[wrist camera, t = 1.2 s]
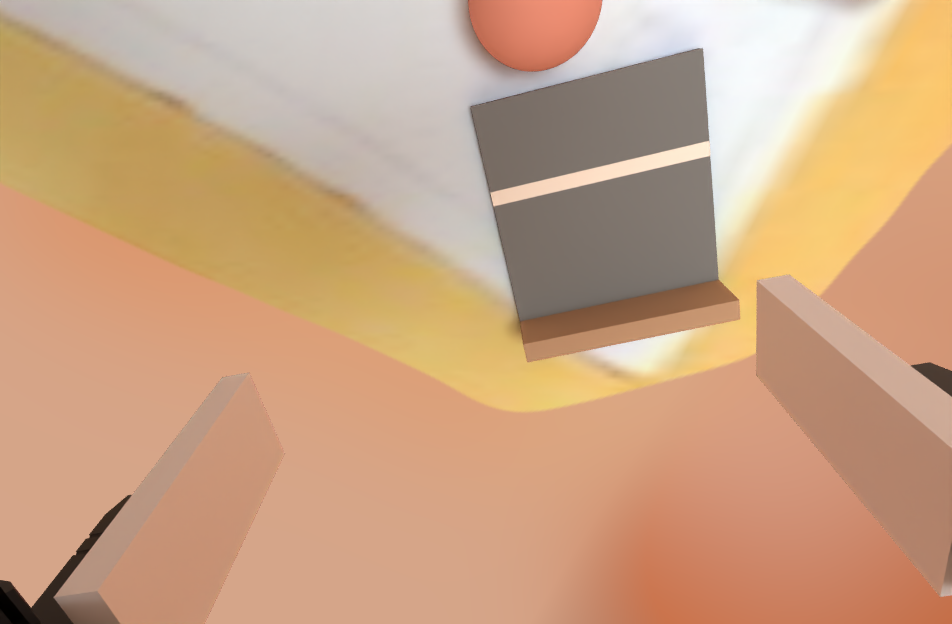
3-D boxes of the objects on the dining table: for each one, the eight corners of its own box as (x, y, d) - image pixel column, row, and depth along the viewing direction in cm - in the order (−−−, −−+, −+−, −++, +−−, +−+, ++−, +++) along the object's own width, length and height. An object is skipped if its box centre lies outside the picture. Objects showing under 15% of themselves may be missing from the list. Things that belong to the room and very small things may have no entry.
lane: (470, 106, 30) (469, 113, 27) (698, 48, 29) (726, 48, 26) (523, 333, 36) (527, 362, 33) (715, 293, 35) (740, 319, 32)
